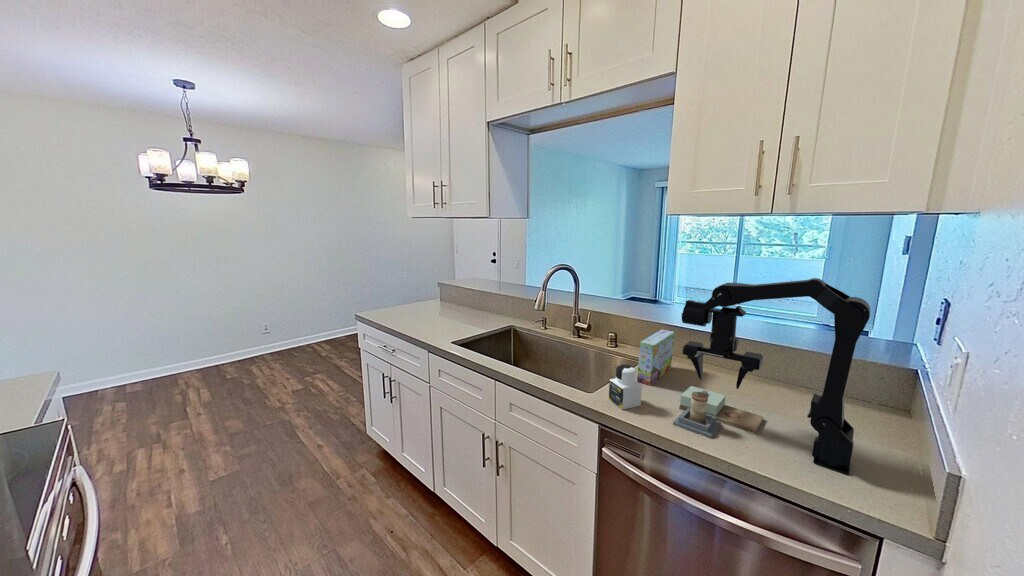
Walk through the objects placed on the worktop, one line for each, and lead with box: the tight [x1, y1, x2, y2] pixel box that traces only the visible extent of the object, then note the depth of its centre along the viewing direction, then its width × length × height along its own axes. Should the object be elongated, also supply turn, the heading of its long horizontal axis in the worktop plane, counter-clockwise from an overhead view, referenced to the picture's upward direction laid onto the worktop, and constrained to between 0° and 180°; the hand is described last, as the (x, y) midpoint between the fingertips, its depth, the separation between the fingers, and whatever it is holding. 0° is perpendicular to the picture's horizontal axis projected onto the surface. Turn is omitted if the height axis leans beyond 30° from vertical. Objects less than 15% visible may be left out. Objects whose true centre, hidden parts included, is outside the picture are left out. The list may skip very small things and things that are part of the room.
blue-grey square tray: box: [672, 408, 722, 439], centre depth 107 cm, size 10×9×2 cm
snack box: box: [636, 329, 676, 386], centre depth 140 cm, size 21×6×15 cm, turn 139°
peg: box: [690, 392, 708, 425], centre depth 106 cm, size 4×4×8 cm
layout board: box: [679, 404, 764, 435], centre depth 112 cm, size 20×10×1 cm, turn 47°
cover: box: [679, 385, 726, 416], centre depth 115 cm, size 10×9×4 cm
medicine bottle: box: [608, 364, 643, 411], centre depth 118 cm, size 7×7×12 cm
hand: (718, 383), depth 105 cm, fingers open, 9 cm apart
